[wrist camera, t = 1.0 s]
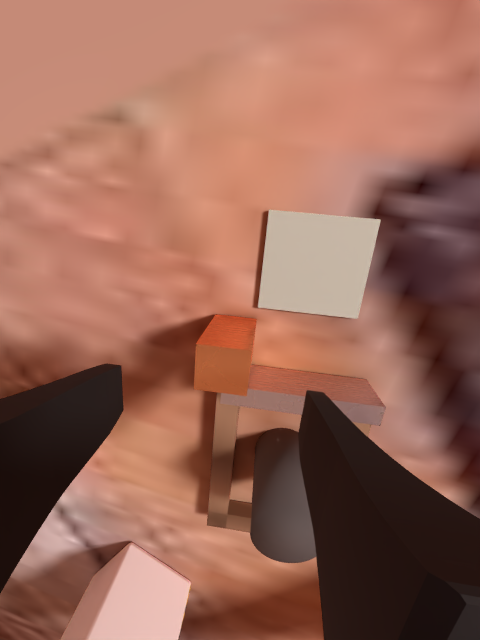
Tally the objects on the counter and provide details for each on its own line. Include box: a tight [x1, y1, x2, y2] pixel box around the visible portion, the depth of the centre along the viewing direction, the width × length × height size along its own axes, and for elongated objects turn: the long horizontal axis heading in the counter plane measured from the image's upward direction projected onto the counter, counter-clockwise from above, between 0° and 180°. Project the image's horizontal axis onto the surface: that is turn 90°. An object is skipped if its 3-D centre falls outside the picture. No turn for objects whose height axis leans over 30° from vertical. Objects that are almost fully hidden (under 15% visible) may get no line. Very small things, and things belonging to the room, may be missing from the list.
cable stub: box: [250, 428, 316, 563], centre depth 17 cm, size 4×4×6 cm
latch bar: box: [194, 314, 386, 426], centre depth 15 cm, size 4×10×5 cm, turn 85°
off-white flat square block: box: [258, 210, 381, 319], centre depth 16 cm, size 6×6×1 cm
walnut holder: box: [207, 392, 371, 533], centre depth 20 cm, size 12×10×1 cm
